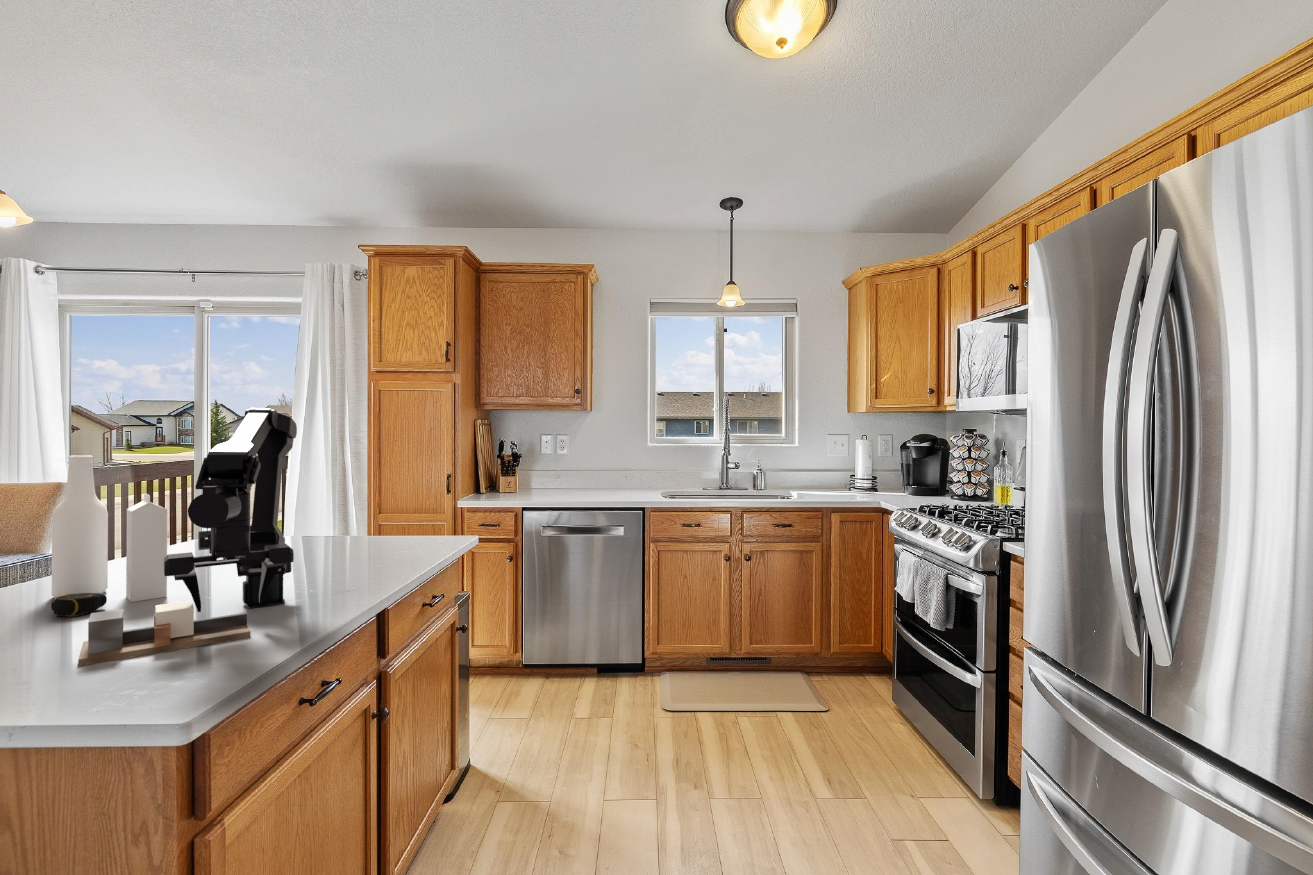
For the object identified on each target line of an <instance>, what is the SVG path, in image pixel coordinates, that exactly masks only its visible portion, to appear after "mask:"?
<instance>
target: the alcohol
mask: <svg viewBox="0 0 1313 875" xmlns="http://www.w3.org/2000/svg"><path fill="white" fill-rule="evenodd" d="M67 459H68V462H67V465H68V471H67V480H66V489H65V495H64V498H63V500H62V501H60V502H59V504H58V505H56V507H55V508H54V509H53V512H52V515H51V596H53V598H54V599H55V598H57V597H59V596H64V595H67V594H80V593H99V594H105V592H106V591H107V589H108V586H109V585H108V584H109V583H108V582H109V580H108V578H109V577H108V575H109V573H108V572H109V569H108V564H109V561H108V560H109V558H108V556H109V555H108V553H109V546H108V545H109V536H108V535H109V521H108V520H109V512H108V509H107V506H106V505H105V503H104V502H102V501H101V500H100V499H99V498H98V496H97V493H96V489H95V486H96V485H95V477H94V469H93V468H94V467H93V466H94V465H93V464H94V461H93V459H94V456H93V455H91V454H86V455H85V454H84V455H82V454H80V455H79V454H78V455H73V454H72V455H68V456H67Z"/></svg>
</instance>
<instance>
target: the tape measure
mask: <svg viewBox="0 0 1313 875" xmlns="http://www.w3.org/2000/svg"><path fill="white" fill-rule="evenodd" d="M107 599H108V598H107V595H106V594H105V593H103V594H99V593H80V594H67V595H64V596H59V597H57V598H54V601H52V602H51V605H50V609H51V611H52V612H53V615H55V616H61V617H62V616H65V617H68V618H69V617H78V616H81V615H85V614H91V613H94V612H95V611H97V610H99V609H101V608H102V607H104V606H105V605H106V604H107Z"/></svg>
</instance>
